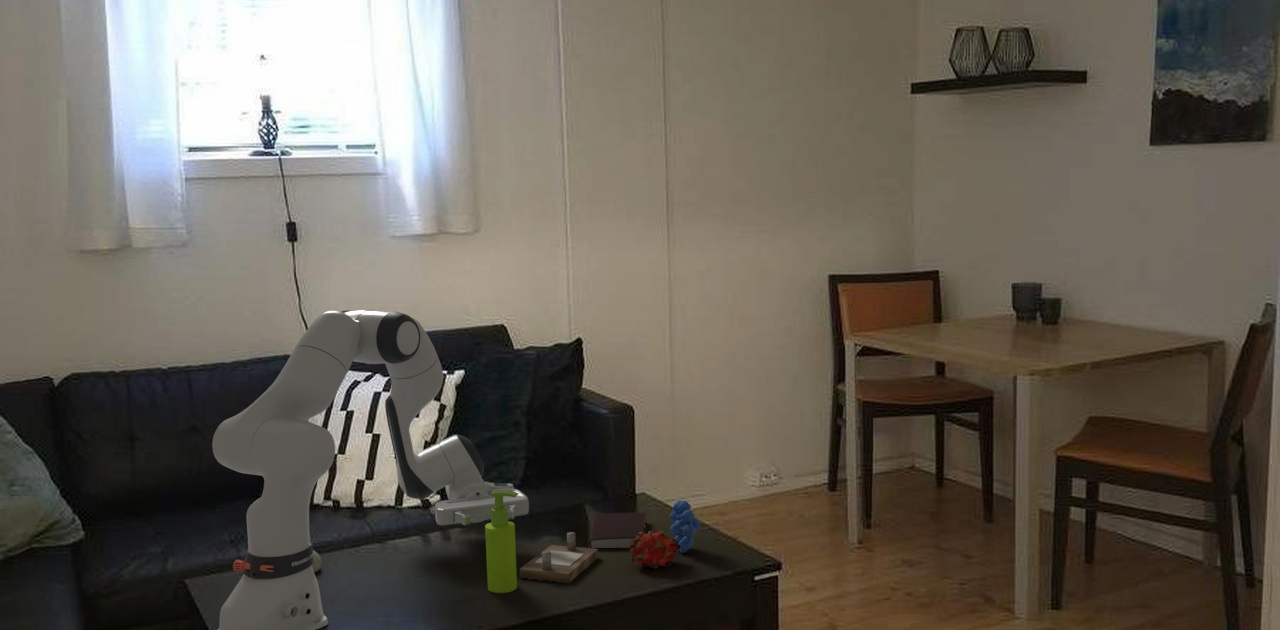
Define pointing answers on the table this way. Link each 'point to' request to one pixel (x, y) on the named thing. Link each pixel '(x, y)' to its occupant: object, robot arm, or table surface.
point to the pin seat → (560, 562)
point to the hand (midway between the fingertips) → (489, 518)
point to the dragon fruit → (653, 549)
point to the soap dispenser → (501, 547)
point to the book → (615, 529)
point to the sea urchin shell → (316, 562)
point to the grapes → (683, 525)
